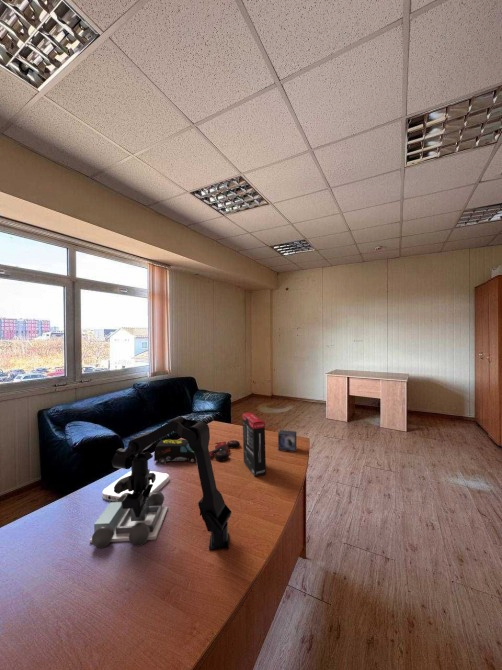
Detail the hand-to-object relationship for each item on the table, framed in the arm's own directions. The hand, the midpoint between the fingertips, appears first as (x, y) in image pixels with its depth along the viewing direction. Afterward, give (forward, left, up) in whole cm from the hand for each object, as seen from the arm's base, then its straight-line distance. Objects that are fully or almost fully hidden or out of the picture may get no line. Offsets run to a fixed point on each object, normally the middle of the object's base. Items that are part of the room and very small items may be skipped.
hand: (140, 512), depth 99 cm
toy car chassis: (0, +3, -4) cm, 5 cm away
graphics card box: (+38, -45, -5) cm, 59 cm away
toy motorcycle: (+61, -27, -5) cm, 66 cm away
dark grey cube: (0, 0, -2) cm, 2 cm away
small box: (+60, -67, -5) cm, 90 cm away
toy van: (+53, -3, -5) cm, 53 cm away
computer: (+25, +10, -5) cm, 27 cm away
